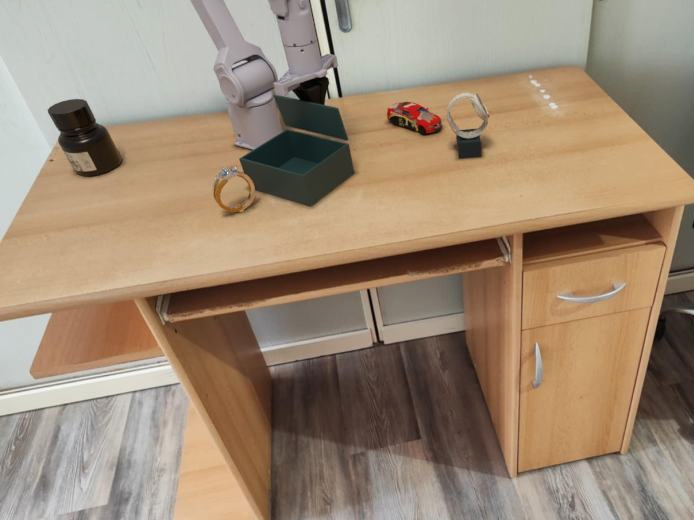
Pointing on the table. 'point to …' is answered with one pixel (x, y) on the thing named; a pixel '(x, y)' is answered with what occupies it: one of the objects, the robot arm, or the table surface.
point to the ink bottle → (84, 138)
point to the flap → (311, 117)
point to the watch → (469, 137)
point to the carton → (298, 166)
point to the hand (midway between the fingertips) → (317, 120)
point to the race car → (413, 117)
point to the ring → (226, 175)
